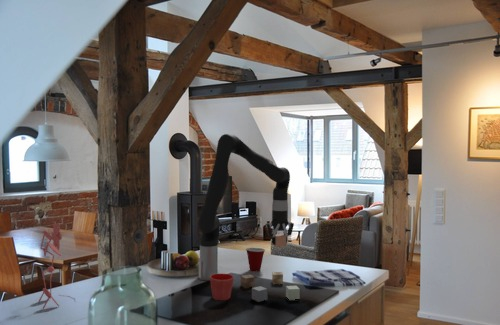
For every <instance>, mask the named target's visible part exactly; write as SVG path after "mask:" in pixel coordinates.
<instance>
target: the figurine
mask: <svg viewBox="0 0 500 325" xmlns="http://www.w3.org/2000/svg"><path fill="white" fill-rule="evenodd" d="M60 226H61V225H60V222H58V223H57V221H53V226H52V228H53V229H52V231H53V232H51V234H50V233H49V232H48V231H47V230H45V229H44V231H43V235H42V240H41V244H40V247H39V249H40V250H42V251H43V256H44V257H46V255H47V253H48V254H50V255H51V256H52V261H51V266H48V267H47V269H46V270H47V271H45V272H43V273H42V280H43V284H44V287H43V288H42V291H43V292H42V294H41V295H40V298H39V300H38V303H41V300H42V298H43V297H44V295H45V296H46V298H47V299H46V301H45V303H44V305H43V306H42V308H43V309H45V308H46V305H47V303H48V302H49V300H51V299H52V301H53V302H54V303H55V304H56V305H57V307H60V305H59V304H58V302H57V301H56V299H55V298H54V297H53V296H52V275H53V272H54V271H55V268H54V265H53V264H54V259H55V255H54V253H55V254H56V255H58V256H60V257H61V256H62V254H61V252H60V245H61V244H60V243H61V242H60V241H61V240H62V238H63V236H62V233H61V231H60V229H61V227H60ZM45 238H47V240H48V241H47V242H46V245H45V247H43V243H44V241H45V240H44V239H45ZM51 241H52V242H51ZM48 248H50V250H52V251H53V252H54V253H52V252H51V251H48ZM46 273H50V277H49V284H50V285H49V287H50V288H49V290H50V291H49V290H48V289H47V287H46V286H47V285H46V281H45V280H46V279H45V276H44V274H46ZM58 296H61V297H64V295H61V294H58ZM67 297H68V298H71V299H74V300H75V297H74V298H73V297H71V296H70V295H67ZM48 312H49V311H47V313H48Z"/></svg>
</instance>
